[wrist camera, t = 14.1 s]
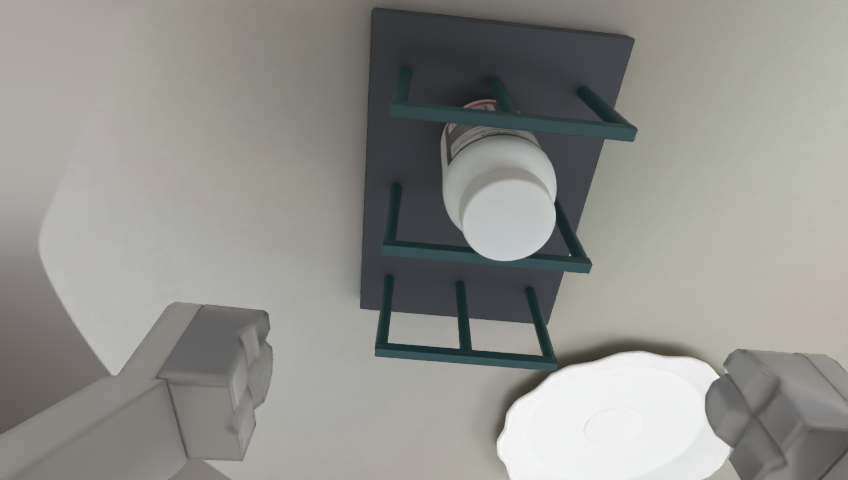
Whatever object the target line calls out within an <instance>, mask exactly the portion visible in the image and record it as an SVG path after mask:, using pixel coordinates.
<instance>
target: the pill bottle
mask: <svg viewBox="0 0 848 480" xmlns="http://www.w3.org/2000/svg"><path fill="white" fill-rule="evenodd" d="M464 108H474V109H483V110H493V111H500V109H499V107H498V104H497V102H496V100H489V99H485V100H478V101H475V102H472V103H469V104H467V105H465V106H464ZM518 112H519V111H518ZM519 113H520V112H519ZM441 166H442V191H443V199H444V204H445V207H446V210H447V213H448V215H449V217H450V218H451V220H452V221H453V223H454V224H455V225H456V226H457V227H458V228H459V229H460V230H461V231H462V232H463V234H464V237H465V239H466V240H467V242H468V244H469V245H470V246H471V247H472V248H473V249H474V250H475V251H476V252H477V253H479V254H480V255H482V256H484V257H486V258H489V259H493V260H497V261H513V260H517V259H521V258H524V257H527V256H529V255H531V254H533V253H534V252H536V251H537V250H539V249H540V248H541V247H542V246H543V245H544V244H545V243H546V242H547V240H548V239H549V238H550V236H551V234H552V231H553V229H554V226H555V221H556V211H555V206H554V202H555V197H556V190H557V185H556V176H555V172H554V169H553V166H552V164H551V162H550V160H549V158H548V156H547V154H546V153H545V151H544V150H543V148H542V146H541V144H540V143H539V141H538V139H537V138H536V136H535V134H534V132H532V131H523V130H513V129H503V128H493V127H484V126H474V125H464V124H454V123H447V124H446V126H445V128H444V130H443V134H442V138H441Z"/></svg>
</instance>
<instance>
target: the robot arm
mask: <svg viewBox="0 0 848 480" xmlns="http://www.w3.org/2000/svg"><path fill="white" fill-rule="evenodd" d="M269 330H270V324H269V316H268V313H267V312H266V311H264V310H255V309H245V308H236V307H226V306H217V305H207V304H206V305H201V304H192V303H182V302H174V303H172V304H171V305H169V306H167V307H166V309H165V310H164V311H163V313H162V314H161V316H160V317H159V318H158V320H157V321H156V323H155V324H154V325H153V327H152V328H151V329H150V331H149V332H148V334H147V335H146V336H145V338H144V339H143V341H142V342H141V343H140V345H139V346H138V347H137V349H136V350H135V352H134V353H133V354H132V356H131V357H130V359H129V360H128V361H127V363H126V364H125V366H124V367H123V368H122V370H121V371H120V372H119V374H118V375H117V376H111V375H110V376H108V375H107V376H105V377H103V378H101V379H100V380H98V381H96V382H94V383H92V384H91V385H89V386H87V387H85V388H83V389H82V390H80V391H78V392H76V393H74V394H73V395H71V396H69V397H68V398H66V399H64V400H62V401H60V402H58V403H57V404H55V405H53V406H51V407H50V408H48V409H46V410H44V411H43V412H41V413H39V414H37V415H35V416H34V417H32V418H30V419H28V420H27V421H25V422H23V423H21V424H19V425H18V426H16V427H14V428H12V429H10V430H9V431H7V432H5V433H3V434H2V435H0V480H169V479H170V478H171V477H173V476H174V475H175V474H176V473H177V472H178V471H179V470H180V469H181V468H182V467H183V466H184V465H185V464H186V463H187V462H188V461H187V459H200V460H224V461H243V459H244V456H245V453H246V451H247V448H248V445H249V442H250V440H251V437H252V434H253V432H254V429H255V426H256V421H255V413H254V410H255V409H256V408H257V407H258V406H260V405H261V404H262V403H263V402H264V401H265V398H266V395H267V392H268V389H269V385H270V380H271V375H272V366H273V354H272V347H271V346H270V345H269V344H268V343H267V342H266V341H265V340H266V337H267V335H268V332H269ZM723 366H724V369H725V372H726V374H725V375H723V376H721V377H720V378H718V379H716V380H715V381H713V382H712V383H711V385H710V387H709V389H708V391H707V393H706V395H705V413H706V416H707V420H708V423H709V425H710V426H711V428H712V430H713V432H714V434H715V435H716V436H717V437H718V438H720V439H721V440H722V441H723V442H725V443H726V444H727V445H728V446H730V453H729V460H730V462H731V463H732V465H733V467H734V468H735V470H736V472H737V474H738V475H739V477H740V479H741V480H848V372H847V371H846V370H845V369H844V368H843V367H842V366H841V365H840V364H839V363H838V362H837V361H835V360H834V359H832V358H830V357H828V356H826V355H823V354H807V353H787V352H773V351H760V350H746V349H737V350H735V351H734V352H732V353H731V354H729V356H728V357H727V359H726V360H725V362H724V364H723Z"/></svg>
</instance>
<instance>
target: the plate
mask: <svg viewBox="0 0 848 480" xmlns="http://www.w3.org/2000/svg"><path fill="white" fill-rule="evenodd" d="M718 378H720V376H718V374H717V373H716V372H715V371H714V370H713V369H712V368H711V367H710V366H709V364H708V363H706V362H703V361H701V360H698V359H695V358H693V357H690V356H662V355H658V354H654V353H650V352H646V351H629V352H618V353H616V354H613V355H610V356H607V357H604V358H602V359H599V360H596V361H592V362H585V363H579V364H573V365H569V366H566V367H564V368H562V369H560V370H558V371H556V372H554V373H551V374H550V375H549V376H548V377H547V378H546V379H545V380H544V381H543V382H542V383H541V384H540V385H538V386H537V387H536V388H535V389H534V390H532V391H530V392H529V393H527V394H525V395H524V396H522V397H520V398H518V399H517V400H516V401H515V402H514V403H513V405H512V406H511V407H510V408H509V410H508V411H507V413H506V420H505V426H504V429H503V430H502V432H501V434H500V436H499V437H498V439H497V441H496V443H497V455H498V456H499V458H500V459H501V460H502V461H503V463H504V464H505V465H506V468H507V472H508V476H509V479H510V480H702V479H705V478H707V477H709V476H710V475H711V474H713V473H714V472H715V471H716V470H718V469H719V468H720V467H721V466H722V464H723V462H724V460H725V459H726V457H727V455H728V453H729V452H730V446H728V445H727V444H726V443H725V442H723V441H722V440H721V439H720V438H718V437H717V436H716V435H715V434H714V432H713V430H712V428H711V426H710V425H709V423H708V420H707V416H706V413H705V395H706V393H707V391H708V389H709V387H710V385H711V383H712V382H713V381H715V380H716V379H718Z"/></svg>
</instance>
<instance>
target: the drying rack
mask: <svg viewBox="0 0 848 480" xmlns="http://www.w3.org/2000/svg"><path fill="white" fill-rule="evenodd" d="M634 41H635V39H634V38H632V37H629V36H627V35H618V34H609V33H600V32H591V31H582V30H573V29H564V28H556V27H547V26H538V25H529V24H520V23H511V22H502V21H493V20H484V19H475V18H466V17H457V16H448V15H439V14H430V13H421V12H412V11H403V10H394V9H385V8H374V9H373V10H372V21H371V46H370V71H369V96H368V122H367V147H366V172H365V197H364V223H363V248H362V273H361V298H360V308H361V309H369V310H380V315H379V322H378V329H377V336H376V343H375V356H377V357H389V358H401V359H413V360H425V361H438V362H450V363H462V364H474V365H486V366H498V367H511V368H523V369H535V370H547V371H556V369H557V366H558V362H557V359H556V357H555V354H554V351H553V347H552V344H551V341H550V338H549V334H548V331H547V328H546V325H547V324H548V322H549V319H550V315H551V312H552V309H553V305H554V302H555V299H556V296H557V292H558V289H559V286H560V283H561V279H562V276H563V273H564V271H566V272H577V273H588V274H589V272H590V269H591V267H592V263H591V261H590V259H589V258H588V257H587V255H586V253H585V251H584V249H583V247H582V245H581V244H580V242H579V240H578V238H577V236H576V230H577V227H578V224H579V221H580V217H581V214H582V211H583V208H584V204H585V201H586V198H587V195H588V191H589V188H590V185H591V181H592V178H593V175H594V172H595V168H596V165H597V162H598V159H599V155H600V152H601V149H602V146H603V142H604V139H610V140H620V141H630V142H633V141H634V140H635V137H636V134H637V131H638V129H637V128H636V127H635V126H633V125H631V124H630V123H629V122H628V121H627V120H625V119H624V118H623V117H622V116H621V115H620V114H619V113H617V112H616V111H615V110H614V106H615V103H616V100H617V97H618V93H619V90H620V87H621V84H622V80H623V77H624V74H625V70H626V67H627V64H628V61H629V57H630V54H631V51H632V48H633V44H634ZM485 99H489V100H496V102H497V104H498V107H499V109H500V111H493V110H483V109H474V108H464V106H465V105H467V104H469V103H472V102H475V101H478V100H485ZM518 111H519V112H520V113H519V112H518ZM447 123H454V124H464V125H474V126H484V127H493V128H503V129H513V130H523V131H532V132H534V134H535V136H536V138H537V139H538V141H539V143H540V144H541V146H542V148H543V150H544V151H545V153H546V154H547V156H548V158H549V160H550V162H551V164H552V166H553V169H554V172H555V176H556V185H557V190H556V197H555V202H554V206H555V211H556V221H555V226H554V229H553V231H552V234H551V236H550V238H549V239H548V240H547V242H546V243H545V244H544V245H543V246H542V247H541V248H540V249H539V250H537V251H536V252H534V253H533V254H531V255H529V256H527V257H524V258H521V259H517V260H513V261H497V260H493V259H489V258H486V257H484V256H482V255H480V254H479V253H477V252H476V251H475V250H474V249H473V248H472V247H471V246H470V245H469V244H468V242H467V240H466V239H465V237H464V234H463V232H462V231H461V230H460V229H459V228H458V227H457V226H456V225H455V224H454V223H453V221H452V220H451V218H450V217H449V215H448V213H447V210H446V207H445V204H444V199H443V191H442V166H441V138H442V134H443V130H444V128H445V126H446V124H447ZM569 253H570V254H571V256H572V257H571V256H569ZM391 311H393V312H404V313H416V314H427V315H439V316H451V317H458V329H459V342H460V349H453V348H441V347H429V346H417V345H405V344H393V343H388V335H389V326H390V317H391ZM469 318H474V319H485V320H497V321H509V322H520V323H532V324H534V326H535V330H536V333H537V337H538V341H539V344H540V348H541V351H542V355H543V356H537V355H525V354H513V353H501V352H489V351H477V350H472V346H471V336H470V326H469Z"/></svg>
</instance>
